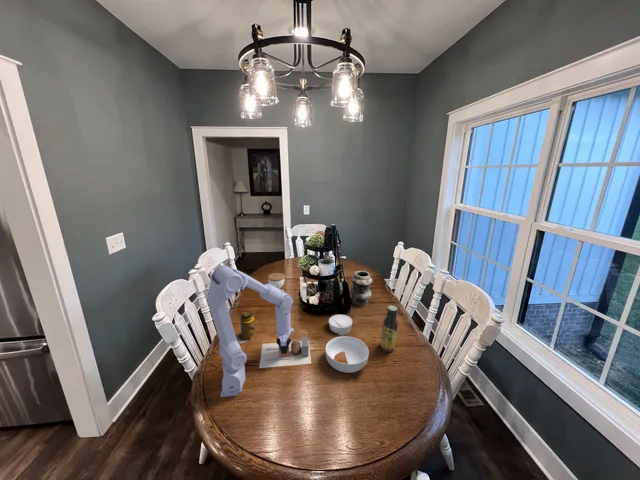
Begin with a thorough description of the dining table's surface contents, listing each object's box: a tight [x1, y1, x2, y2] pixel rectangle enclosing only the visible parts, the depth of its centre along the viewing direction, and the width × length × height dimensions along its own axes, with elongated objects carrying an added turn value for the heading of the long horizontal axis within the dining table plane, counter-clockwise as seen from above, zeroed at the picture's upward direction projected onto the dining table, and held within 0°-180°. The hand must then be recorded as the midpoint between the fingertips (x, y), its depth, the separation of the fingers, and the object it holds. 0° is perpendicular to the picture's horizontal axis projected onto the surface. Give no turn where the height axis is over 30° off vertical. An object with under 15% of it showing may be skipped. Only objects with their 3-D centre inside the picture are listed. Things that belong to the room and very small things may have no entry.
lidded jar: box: [267, 272, 286, 289], centre depth 167 cm, size 11×11×9 cm
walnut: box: [291, 340, 301, 356], centre depth 106 cm, size 4×4×4 cm
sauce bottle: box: [380, 305, 399, 353], centre depth 109 cm, size 7×6×20 cm
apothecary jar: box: [349, 270, 373, 307], centre depth 148 cm, size 12×12×18 cm
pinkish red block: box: [279, 337, 290, 357], centre depth 105 cm, size 4×4×6 cm
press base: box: [258, 336, 312, 369], centre depth 106 cm, size 14×20×6 cm
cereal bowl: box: [324, 335, 370, 374], centre depth 102 cm, size 17×17×7 cm
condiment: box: [235, 310, 256, 345], centre depth 117 cm, size 7×8×12 cm
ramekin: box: [328, 314, 353, 337], centre depth 123 cm, size 11×11×5 cm
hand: (284, 349), depth 106 cm, fingers closed on pinkish red block, 4 cm apart
